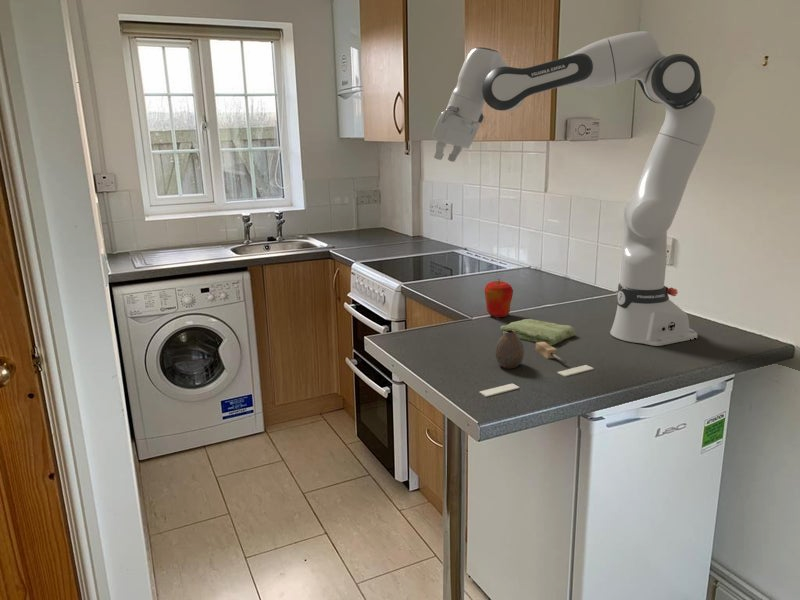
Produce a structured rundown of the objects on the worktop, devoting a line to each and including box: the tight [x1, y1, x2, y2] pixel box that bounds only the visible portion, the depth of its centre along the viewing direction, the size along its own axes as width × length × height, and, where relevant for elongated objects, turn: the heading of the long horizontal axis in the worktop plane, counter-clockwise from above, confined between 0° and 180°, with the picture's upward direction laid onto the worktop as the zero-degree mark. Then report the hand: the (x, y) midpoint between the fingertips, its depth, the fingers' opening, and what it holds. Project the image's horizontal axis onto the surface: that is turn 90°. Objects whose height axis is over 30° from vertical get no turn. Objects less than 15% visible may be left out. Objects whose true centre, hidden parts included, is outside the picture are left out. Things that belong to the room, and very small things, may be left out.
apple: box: [484, 278, 514, 318], centre depth 187 cm, size 9×8×12 cm
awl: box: [535, 342, 567, 364], centre depth 152 cm, size 12×2×2 cm, turn 17°
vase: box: [494, 330, 525, 369], centre depth 147 cm, size 7×7×9 cm
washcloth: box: [499, 318, 576, 346], centre depth 170 cm, size 13×18×3 cm
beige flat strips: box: [479, 364, 594, 398], centre depth 139 cm, size 31×2×1 cm, turn 117°
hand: (444, 160), depth 165 cm, fingers open, 8 cm apart
